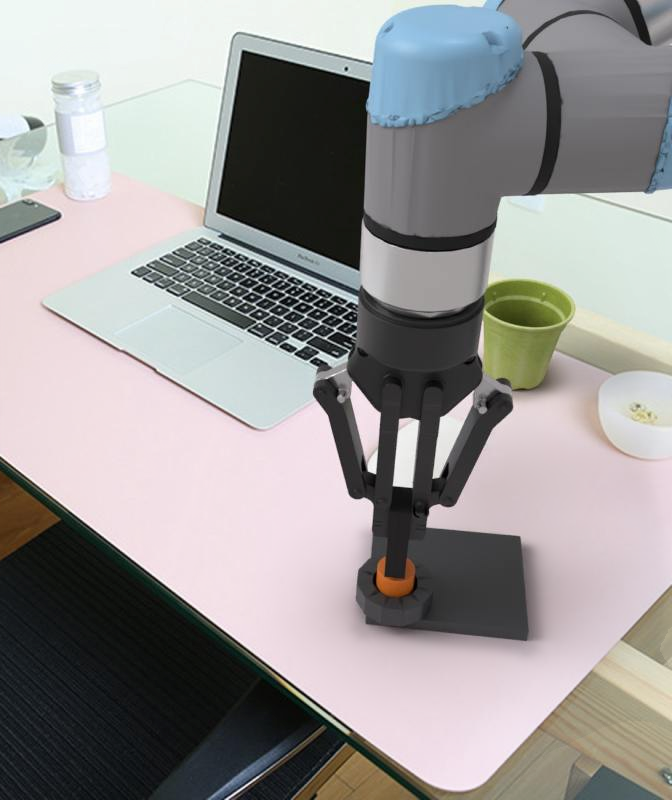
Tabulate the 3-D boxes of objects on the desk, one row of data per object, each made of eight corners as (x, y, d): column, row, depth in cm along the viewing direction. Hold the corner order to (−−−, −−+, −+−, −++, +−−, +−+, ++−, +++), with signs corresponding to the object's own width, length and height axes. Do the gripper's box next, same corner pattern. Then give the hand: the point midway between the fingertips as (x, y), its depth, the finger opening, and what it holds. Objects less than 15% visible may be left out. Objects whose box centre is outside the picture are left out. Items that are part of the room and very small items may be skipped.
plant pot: (576, 370, 99) (592, 297, 94) (534, 413, 93) (548, 338, 88) (496, 339, 104) (506, 269, 99) (451, 379, 98) (459, 306, 93)
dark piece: (518, 546, 79) (523, 519, 77) (527, 651, 70) (533, 624, 68) (363, 531, 80) (364, 505, 79) (352, 632, 72) (354, 605, 70)
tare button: (414, 572, 73) (415, 556, 72) (412, 599, 71) (414, 583, 70) (377, 568, 73) (378, 552, 72) (375, 596, 71) (376, 579, 70)
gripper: (529, 263, 59) (482, 537, 73) (319, 251, 61) (313, 521, 75) (538, 328, 53) (485, 612, 67) (306, 312, 55) (301, 593, 69)
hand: (395, 564), depth 71 cm, fingers closed
